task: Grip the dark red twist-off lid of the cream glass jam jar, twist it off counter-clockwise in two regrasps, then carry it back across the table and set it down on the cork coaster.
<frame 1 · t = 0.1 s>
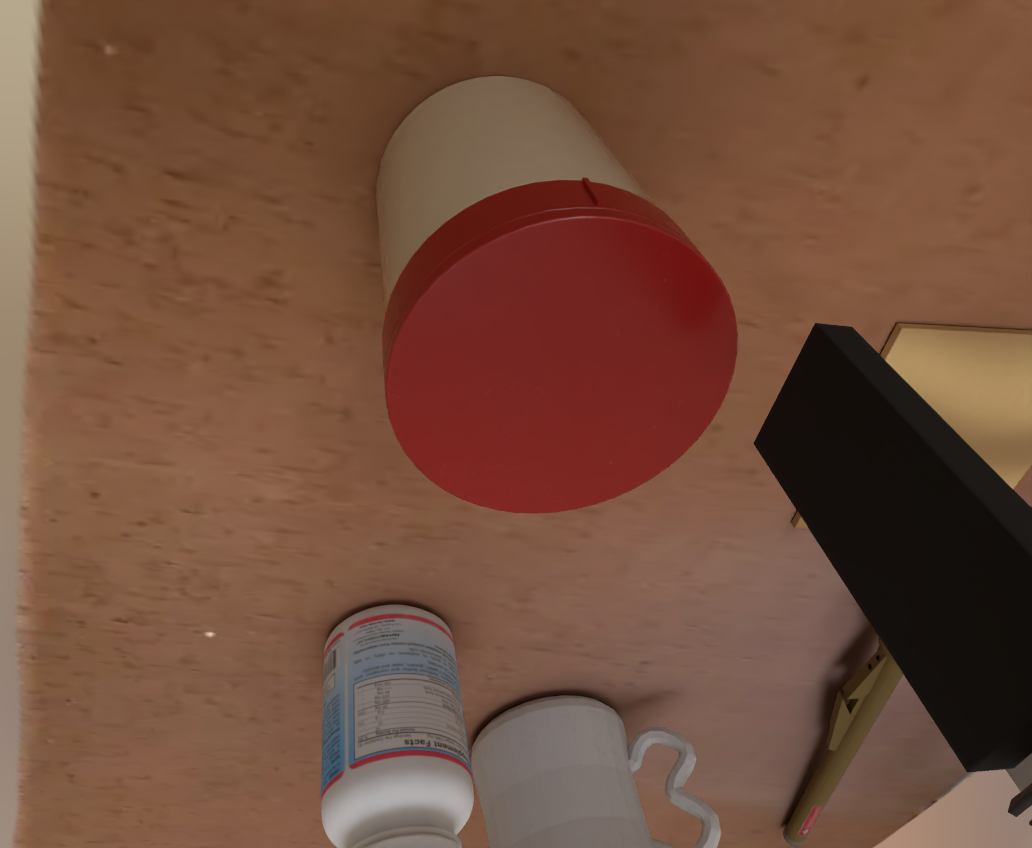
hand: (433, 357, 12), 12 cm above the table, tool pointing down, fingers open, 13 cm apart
lid: (562, 375, 16), point 10 cm above the table, screwed on, not yet turned
jam jar: (493, 199, 23), on the table
mug: (570, 720, 44), on the table
pill bottle: (389, 635, 36), on the table
power adapter: (987, 670, 49), on the table
toy grenade launcher: (837, 705, 49), on the table
coaster: (945, 434, 34), on the table
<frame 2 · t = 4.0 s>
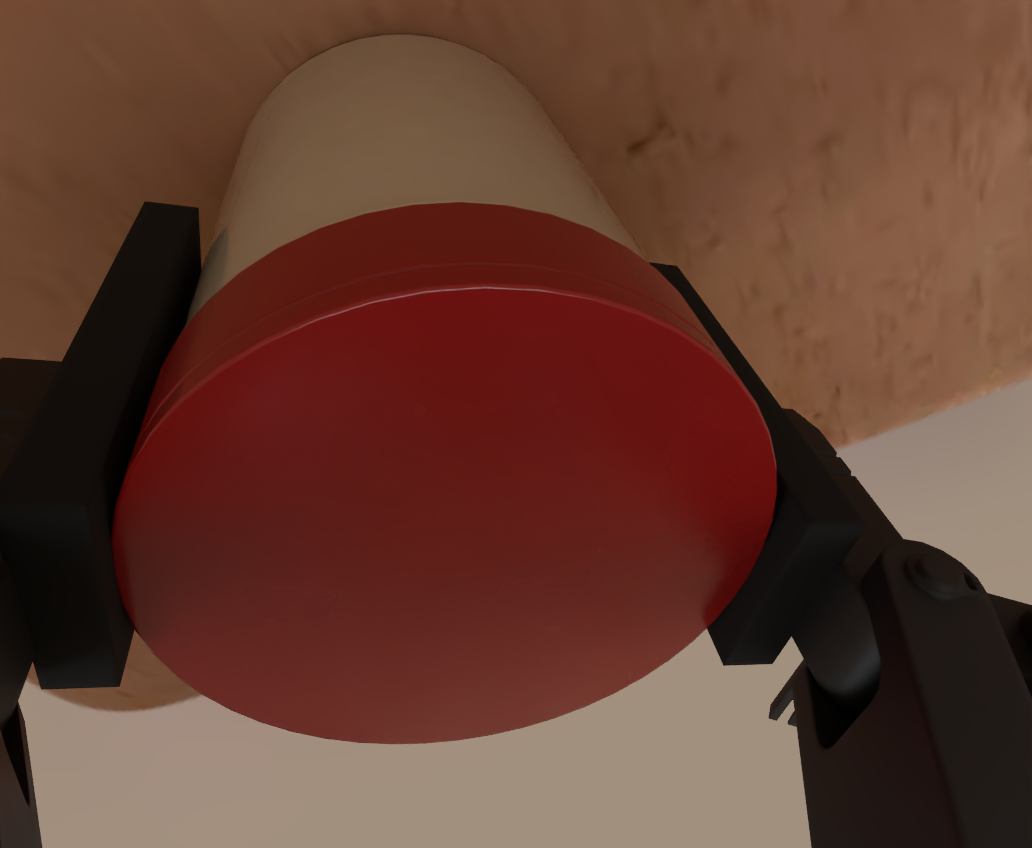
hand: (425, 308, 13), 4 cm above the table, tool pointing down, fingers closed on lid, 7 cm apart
lid: (463, 547, 9), point 10 cm above the table, screwed on, not yet turned, touching gripper
jam jar: (410, 216, 16), on the table
when the fingers open (4 cm above the table, at t = 5.3 s): lid stays where it is, point 10 cm above the table.
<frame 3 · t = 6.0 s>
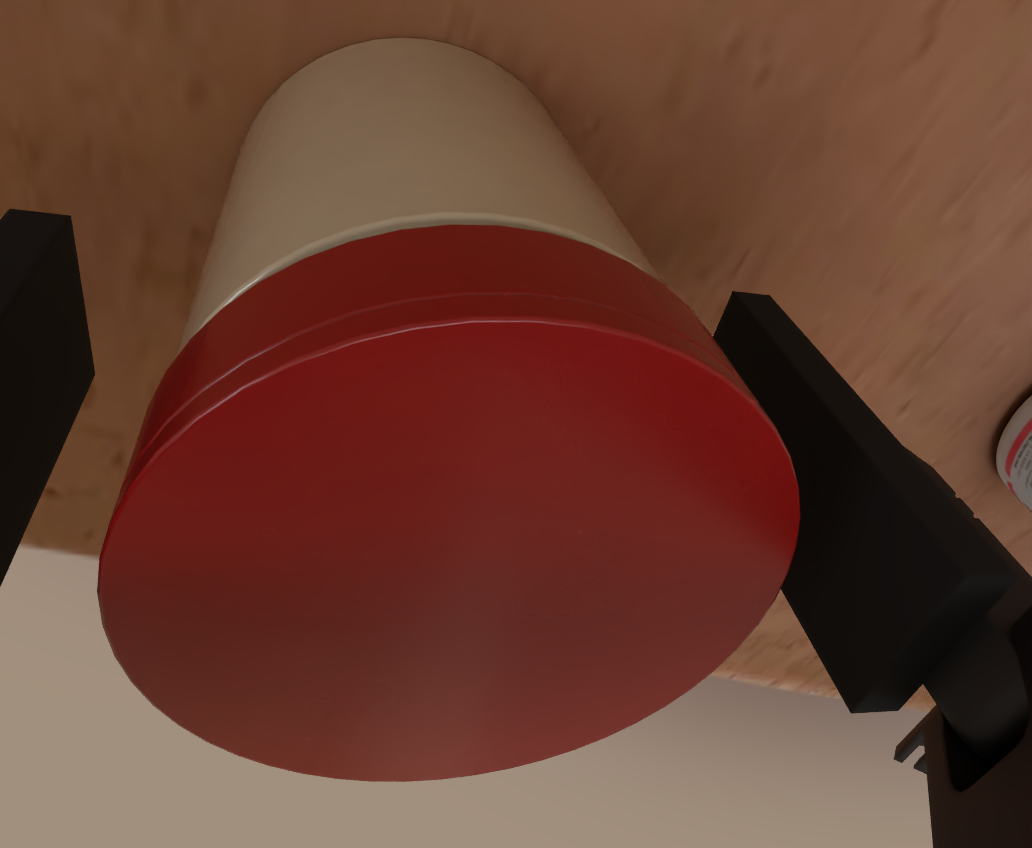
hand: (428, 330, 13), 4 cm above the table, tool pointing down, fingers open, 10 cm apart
lid: (470, 583, 8), point 10 cm above the table, turned 89° so far, risen 0.2 cm, still on its thread
jam jar: (411, 222, 16), on the table
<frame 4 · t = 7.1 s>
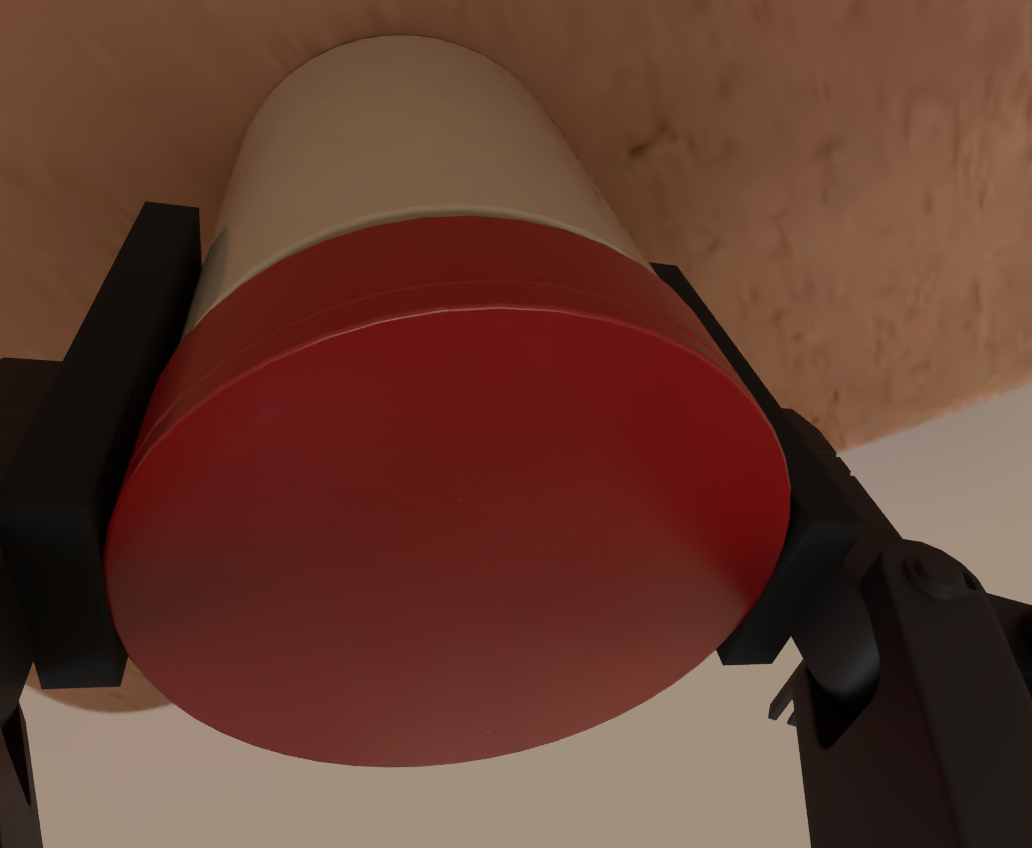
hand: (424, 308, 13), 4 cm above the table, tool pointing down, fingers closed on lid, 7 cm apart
lid: (467, 569, 9), point 10 cm above the table, turned 89° so far, risen 0.2 cm, still on its thread, touching gripper
jam jar: (410, 218, 16), on the table
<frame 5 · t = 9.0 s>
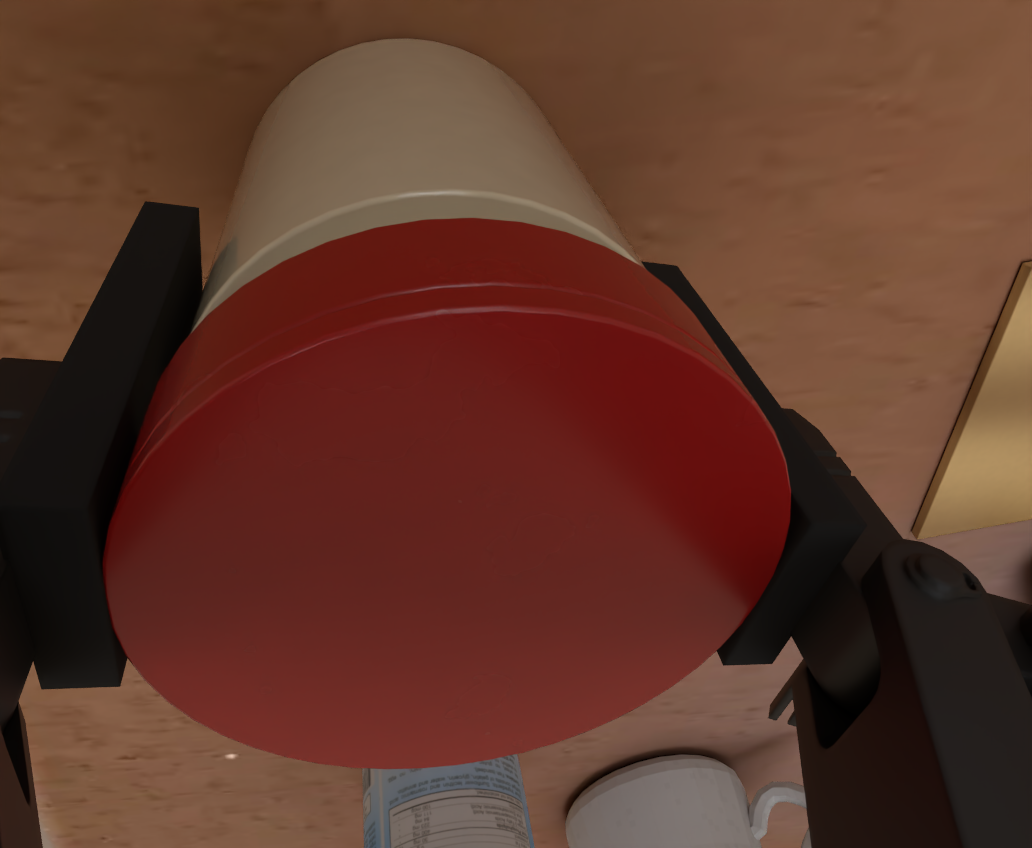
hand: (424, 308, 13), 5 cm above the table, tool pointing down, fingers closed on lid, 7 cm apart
lid: (467, 571, 9), point 11 cm above the table, off its thread, touching gripper
jam jar: (411, 213, 17), on the table, touching gripper
mug: (676, 778, 38), on the table
pill bottle: (437, 726, 31), on the table
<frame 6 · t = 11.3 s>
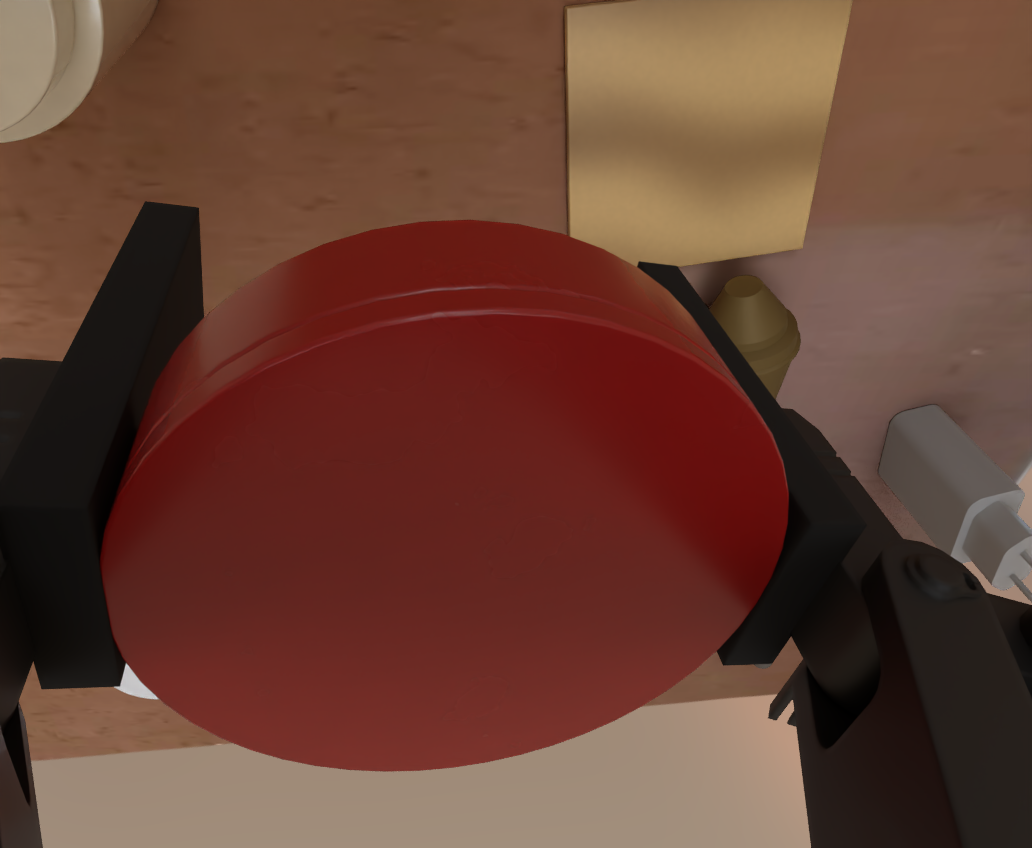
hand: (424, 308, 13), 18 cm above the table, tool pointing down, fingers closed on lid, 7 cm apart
lid: (465, 574, 9), point 24 cm above the table, off its thread, touching gripper
pill bottle: (205, 465, 37), on the table
power adapter: (906, 439, 45), on the table
toy grenade launcher: (742, 500, 46), on the table
coaster: (696, 141, 31), on the table
when the fingers open (2 cm above the table, at t = 15.7 s): lid drops 6 cm, resting on coaster.
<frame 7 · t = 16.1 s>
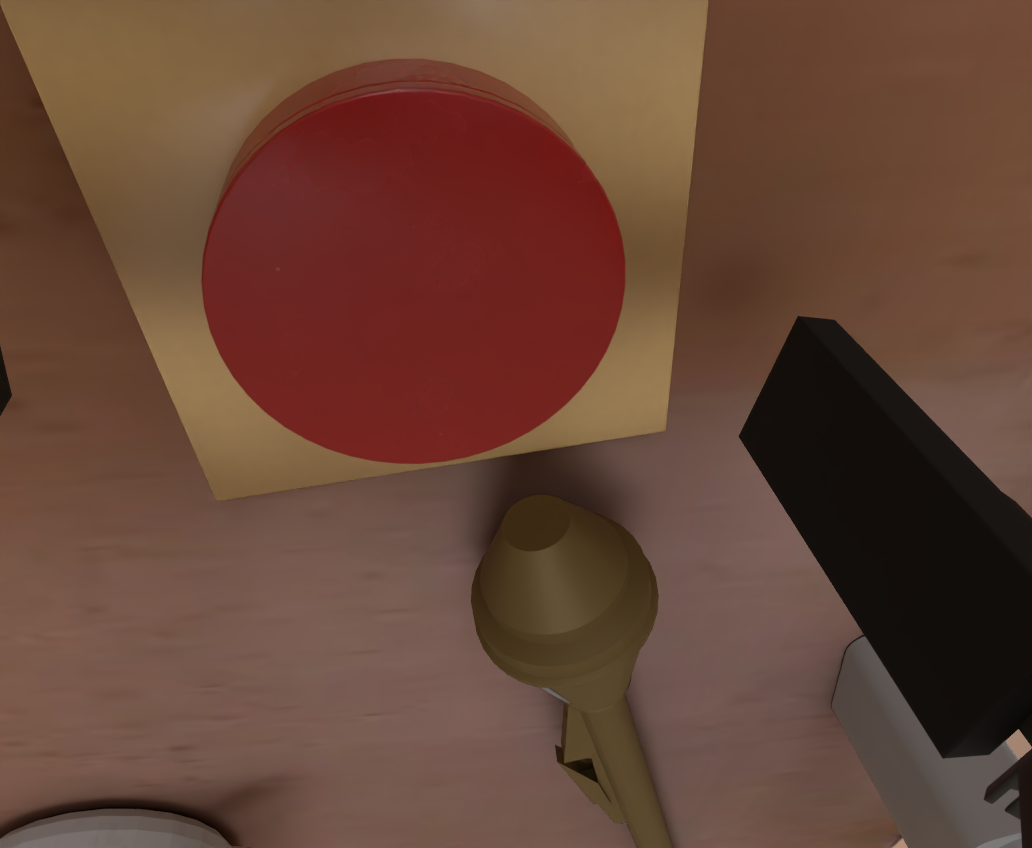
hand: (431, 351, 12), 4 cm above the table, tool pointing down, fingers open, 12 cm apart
lid: (422, 297, 14), point 2 cm above the table, off its thread, touching coaster
mug: (147, 835, 28), on the table
power adapter: (873, 665, 29), on the table
toy grenade launcher: (623, 750, 30), on the table
coaster: (415, 251, 15), on the table
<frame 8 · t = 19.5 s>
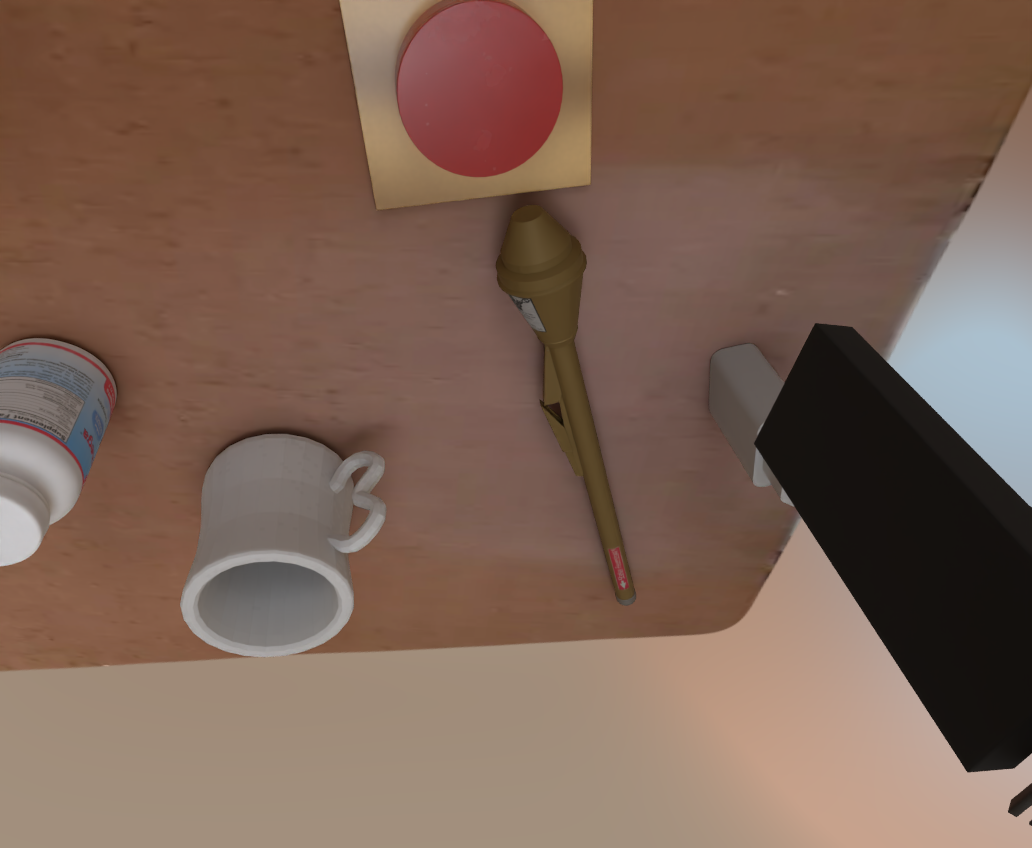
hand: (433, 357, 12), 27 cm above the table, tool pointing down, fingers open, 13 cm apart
lid: (480, 92, 33), point 2 cm above the table, off its thread, touching coaster
mug: (301, 468, 48), on the table
pill bottle: (58, 378, 41), on the table
power adapter: (731, 378, 49), on the table
toy grenade launcher: (581, 434, 50), on the table
coaster: (474, 80, 35), on the table
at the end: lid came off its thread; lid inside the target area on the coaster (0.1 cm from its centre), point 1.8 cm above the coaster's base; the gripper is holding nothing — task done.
